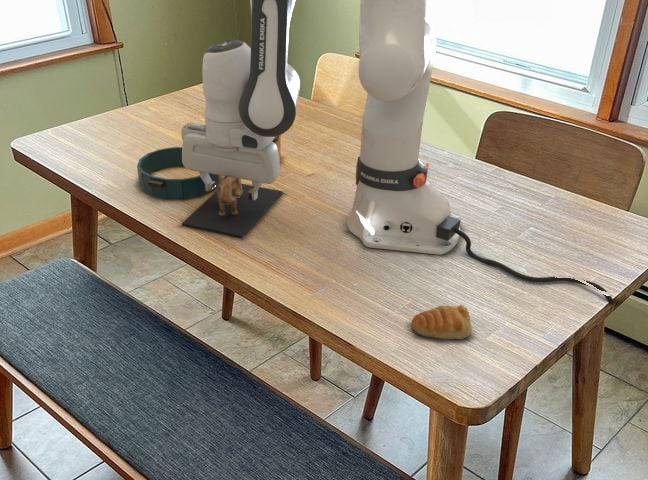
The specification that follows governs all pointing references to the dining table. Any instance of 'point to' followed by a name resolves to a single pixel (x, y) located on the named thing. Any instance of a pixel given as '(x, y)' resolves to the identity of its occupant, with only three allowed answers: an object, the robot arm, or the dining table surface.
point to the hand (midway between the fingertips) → (231, 194)
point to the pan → (169, 187)
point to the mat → (229, 223)
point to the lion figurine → (229, 193)
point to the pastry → (443, 322)
